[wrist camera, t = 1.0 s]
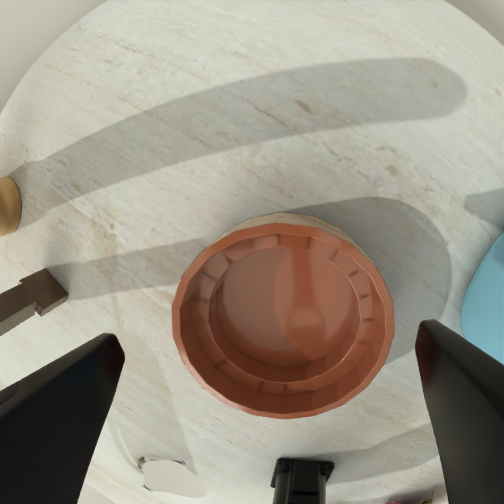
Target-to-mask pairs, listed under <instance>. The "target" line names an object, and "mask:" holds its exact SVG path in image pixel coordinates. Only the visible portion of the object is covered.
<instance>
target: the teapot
mask: <svg viewBox="0 0 504 504" xmlns="http://www.w3.org/2000/svg"><path fill="white" fill-rule="evenodd" d="M461 328H462V331H463V334H464V336H465V339H466V340H467V341H469V342H470V343H472V344H474V345H475V346H477V347H478V348H480V349H481V350H483V351H484V352H486V353H487V354H489V355H490V356H491V357H493V358H494V359H496V360H497V361H499V362H500V363H502V364H503V365H504V232H503V233H502V234H501V235H500V236H499V237H498V238H497V239H496V241H495V242H494V243H493V245H492V246H491V248H490V249H489V251H488V253H487V254H486V256H485V257H484V259H483V261H482V262H481V264H480V266H479V268H478V269H477V271H476V273H475V275H474V277H473V279H472V281H471V283H470V285H469V286H468V289H467V291H466V293H465V295H464V298H463V301H462V306H461Z"/></svg>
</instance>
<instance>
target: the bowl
mask: <svg viewBox="0 0 504 504" xmlns="http://www.w3.org/2000/svg"><path fill="white" fill-rule="evenodd" d="M172 329H173V338H174V341H175V343H176V346H177V348H178V351H179V354H180V356H181V359H182V361H183V363H184V365H185V366H186V368H187V369H188V370H189V371H190V373H191V374H192V375H193V376H194V378H195V379H196V380H197V381H198V383H199V384H200V385H201V386H202V387H203V388H204V389H205V390H207V391H208V392H209V393H211V394H212V395H214V396H215V397H216V398H218V399H219V400H220V401H222V402H223V403H225V404H227V405H229V406H231V407H234V408H236V409H239V410H241V411H244V412H247V413H249V414H252V415H256V416H262V417H270V418H277V419H292V418H301V417H310V416H315V415H318V414H321V413H324V412H326V411H329V410H332V409H334V408H337V407H339V406H342V405H343V404H345V403H346V402H348V401H349V400H350V399H352V398H353V397H355V396H356V395H357V394H359V393H360V392H361V391H363V390H364V389H365V388H366V387H368V385H369V384H370V383H371V381H372V380H373V379H374V377H375V376H376V375H377V373H378V372H379V371H380V369H381V368H382V367H383V365H384V364H385V361H386V358H387V355H388V352H389V349H390V346H391V343H392V340H393V337H394V311H393V301H392V298H391V296H390V294H389V291H388V289H387V287H386V285H385V283H384V280H383V278H382V276H381V274H380V272H379V270H378V269H377V267H376V266H375V265H374V263H373V262H372V261H371V259H370V258H369V257H368V256H367V254H366V253H365V252H364V250H363V249H362V248H360V247H359V246H358V245H357V244H356V243H355V242H354V241H353V240H352V239H351V238H350V237H349V236H348V235H347V234H346V233H345V232H344V231H343V230H342V229H340V228H337V227H335V226H333V225H331V224H329V223H327V222H325V221H323V220H320V219H318V218H316V217H314V216H308V215H300V214H291V213H282V212H280V213H275V214H270V215H265V216H261V217H256V218H251V219H248V220H246V221H244V222H242V223H241V224H239V225H237V226H236V227H234V228H232V229H231V230H229V231H227V232H226V233H224V234H222V235H221V236H220V237H218V238H217V239H216V240H215V241H213V242H212V243H211V244H210V245H208V246H207V247H206V248H205V249H204V250H202V252H201V253H200V254H199V255H198V256H197V258H196V259H195V260H194V261H193V263H192V264H191V265H190V266H189V267H188V269H187V270H186V271H185V272H184V274H183V275H182V277H181V279H180V282H179V285H178V288H177V291H176V294H175V297H174V300H173V303H172Z"/></svg>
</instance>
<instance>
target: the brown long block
mask: <svg viewBox="0 0 504 504" xmlns="http://www.w3.org/2000/svg"><path fill="white" fill-rule="evenodd" d="M67 297H68V293H67V292H66V291H65V290H64V289H63V288H62V287H61V286H60V284H59V283H58V282H57V281H56V280H55V279H54V278H53V277H52V275H51V274H50V273H49V272H48V271H47V270H46V269H42V270H40V271H38V272H36V273H34V274H31V275H29V276H27V277H25V278H23V279H21V280H19V283H18V285H17V286H15V287H13V288H11V289H9V290H7V291H5V292H3V293H1V294H0V336H2V335H3V334H5V333H6V332H8V331H9V330H11V329H12V328H14V327H16V326H17V325H19V324H20V323H22V322H24V321H25V320H27V319H28V318H30V317H32V316H33V315H34V314H35V311H36V312H37V313H38V314H39V315H40V316H43V315H45V314H46V313H48V312H49V311H51V310H53V309H54V308H56V307H57V306H59V305H61V304H62V303H64V302H65V301H66V299H67Z"/></svg>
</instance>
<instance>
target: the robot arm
mask: <svg viewBox="0 0 504 504" xmlns="http://www.w3.org/2000/svg"><path fill="white" fill-rule="evenodd" d="M415 352H416V357H417V361H418V366H419V371H420V376H421V382H422V387H423V393H424V398H425V401H426V405H427V409H428V412H429V416H430V419H431V423H432V427H433V431H434V434H435V438H436V443H437V447H438V451H439V455H440V460H441V464H442V469H443V474H444V479H445V484H446V490H447V496H448V502H449V504H504V365H503V364H502V363H500V362H499V361H497V360H496V359H494V358H493V357H491V356H490V355H489V354H487V353H486V352H484V351H483V350H481V349H480V348H478V347H477V346H475V345H474V344H472V343H470V342H469V341H467V340H466V339H464V338H463V337H461V336H460V335H458V334H457V333H455V332H454V331H452V330H451V329H449V328H447V327H446V326H444V325H443V324H441V323H440V322H438V321H437V320H434V319H431V320H425V321H422V322H421V323H420V325H419V329H418V334H417V339H416V344H415ZM124 361H125V354H124V351H123V349H122V347H121V345H120V343H119V341H118V339H117V337H116V336H115V335H114V334H110V333H103V334H101V335H99V336H97V337H95V338H94V339H92V340H90V341H88V342H87V343H85V344H83V345H81V346H79V347H78V348H76V349H74V350H72V351H71V352H69V353H67V354H65V355H64V356H62V357H60V358H58V359H56V360H55V361H53V362H51V363H49V364H48V365H46V366H44V367H42V368H41V369H39V370H37V371H35V372H33V373H32V374H30V375H28V376H26V377H25V378H23V379H21V381H17V382H16V383H14V384H12V385H10V386H9V387H7V388H5V389H3V390H1V391H0V504H77V503H78V499H79V495H80V492H81V489H82V486H83V482H84V480H85V476H86V473H87V470H88V467H89V464H90V461H91V459H92V456H93V453H94V450H95V447H96V444H97V441H98V439H99V436H100V433H101V430H102V428H103V425H104V422H105V420H106V417H107V414H108V412H109V409H110V407H111V404H112V401H113V399H114V395H115V392H116V388H117V385H118V381H119V378H120V374H121V371H122V368H123V364H124ZM333 469H334V463H333V462H317V461H302V460H291V459H278V460H277V462H276V466H275V470H274V473H273V477H272V481H271V487H273V488H275V491H274V498H273V504H325V499H326V482H327V481H328V479H329V477H330V475H331V473H332V471H333Z"/></svg>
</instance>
